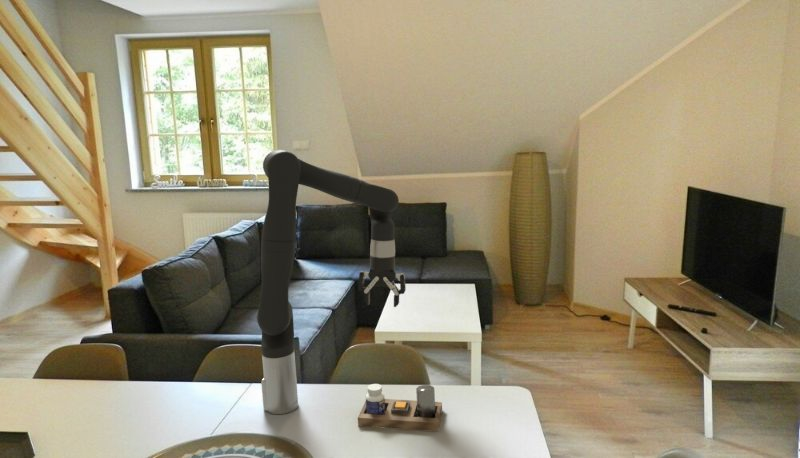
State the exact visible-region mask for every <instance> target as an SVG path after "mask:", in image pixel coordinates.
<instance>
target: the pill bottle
mask: <svg viewBox="0 0 800 458" xmlns="http://www.w3.org/2000/svg"><path fill="white" fill-rule="evenodd" d="M385 399H386V398H385V394H384V392H383V388H382V385H381V384H379V383H371V384H369V385H368V386H367V393H366V395H365V401H366V414H377V415H385V412H386V411H385Z"/></svg>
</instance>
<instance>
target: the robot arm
mask: <svg viewBox="0 0 800 458" xmlns="http://www.w3.org/2000/svg"><path fill="white" fill-rule="evenodd" d="M262 161H263V162H262V168H263V172H264V175H265V176H266V177H267V178H268V179H267V182H268V203H267V204H268V205H267V209H266V214H265V217H264V221H263V224H262V225H263V226H262V229H261V244H260V245H261V246H260V271H261V272H260V273H261V290H260V297H259V299H260V300H259V306H258V310H257V316H256V321H257V324H258V327H259V328H260V330H261V344H260V345H261V346H260V349H261V359H262V370H263V371H262V372H263V378H262V379H261V382H260V383H261V394H262V404H263V411H266V412H268V413H269V414H274V415H285V414H288V413H291V412H293V411H294V410H296V409H297V408H298V406H299V396H298V385H297V384H298V383H297V370H296V369H297V368H296V357H295V355H296V354H295V331H294V330H295V328H294V326H295V325H294V313H293V306H292V304H291V303H290V301H289V289H290V288H289V287H290V282H291V281H290V280H291V277H292V276H291V275H292V272H293V268H294V267H293V266H294V261H295V255H296V238H297V232H296V231H297V205H296V204H297V196H298V191H299V185H301V186H304V187H308V188H311V189H314V190H317V191H320V192H322V193H325V194H326V195H329V196H332V197H335V198H337V199H340V200H344V201H346V202H348V203H349V202H350V203H354V204H357V205H362V206H365V207H368V210H369V218H370V223H371V229H370V231H371V233H370V238H371V239H370V248H369V250H370V251H369V271H365V270H364V269H363V270H361V271H360V272H359V273H358V274H359V275H358V287H357V289H358V291H359V292H362V293H363V294H364V295H363V296H364V300H363V301H364V303H365V304H366V306H369V305H370V304H371V291H370V290H371V289H372V288H373V287H374V286H375V287H376V288H377V287H378V288H380V287H383V288H389V289H390V291H392V292H393V294H394V295H393V307H394V308H397V306H398V305H399V304H400V295H403V294H405V292H406V290H407V289H406V273H404V272H401V273H396V271H395V270H396V243H395V236H396V235H395V233H396V232H395V230H396V229H395V223H394V221H393V218H391V217H392V215H391V212H394V210H395V211H396V209H397V208H398V205H399V204H400V203H399V196H398V194H397V193H396V192H395V191H394V190H393V189H391V188H387V187H383V186H381V185H377V184H372V183H369V182H366V180H365V181H364V180H362V179H359V178H357V177H354V176H352V175H351V176H350V175H347V174H344V173H341V172H338V171H334V170H329V169H326V168H322V167H318V166H316V165H313V164H311V163H308V162H307V161H304V160H302V159H300V158H298V156H297V155H296V154H295V153H293V152H291V151H288V150H284V149H276V150H273V151H270V152H269V153H268V154H267V155H266V156H265V157H264V159H263V160H262ZM367 278H369V280H370V281H371V282H370V283H369V284H368V285H367V286H365V279H367ZM395 279H397V281H399V286H400V287H397V284H396V283H395V281H394V280H395Z"/></svg>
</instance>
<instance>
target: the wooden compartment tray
mask: <svg viewBox="0 0 800 458" xmlns="http://www.w3.org/2000/svg"><path fill="white" fill-rule="evenodd" d="M396 402H406V409H395V405H396ZM442 413H443V402H442V401H435V415H436V416H435V418H424V417H418V416H417V400H412V399H411V400H410V399H409V400H408V399H393V398H385V415H377V414H366V400H365V401H364V403H363V406H362V408H361V410H360V411H359V414H358V417H357V426H358V427H366V428H367V427H368V428H382V429H393V430H395V429H398V430H410V431H411V430H412V431H413V430H414V431H425V432H439V430H440V423H441V417H442Z"/></svg>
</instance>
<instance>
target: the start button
mask: <svg viewBox="0 0 800 458" xmlns="http://www.w3.org/2000/svg"><path fill="white" fill-rule="evenodd" d="M395 409H406V402H396V405H395Z"/></svg>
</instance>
